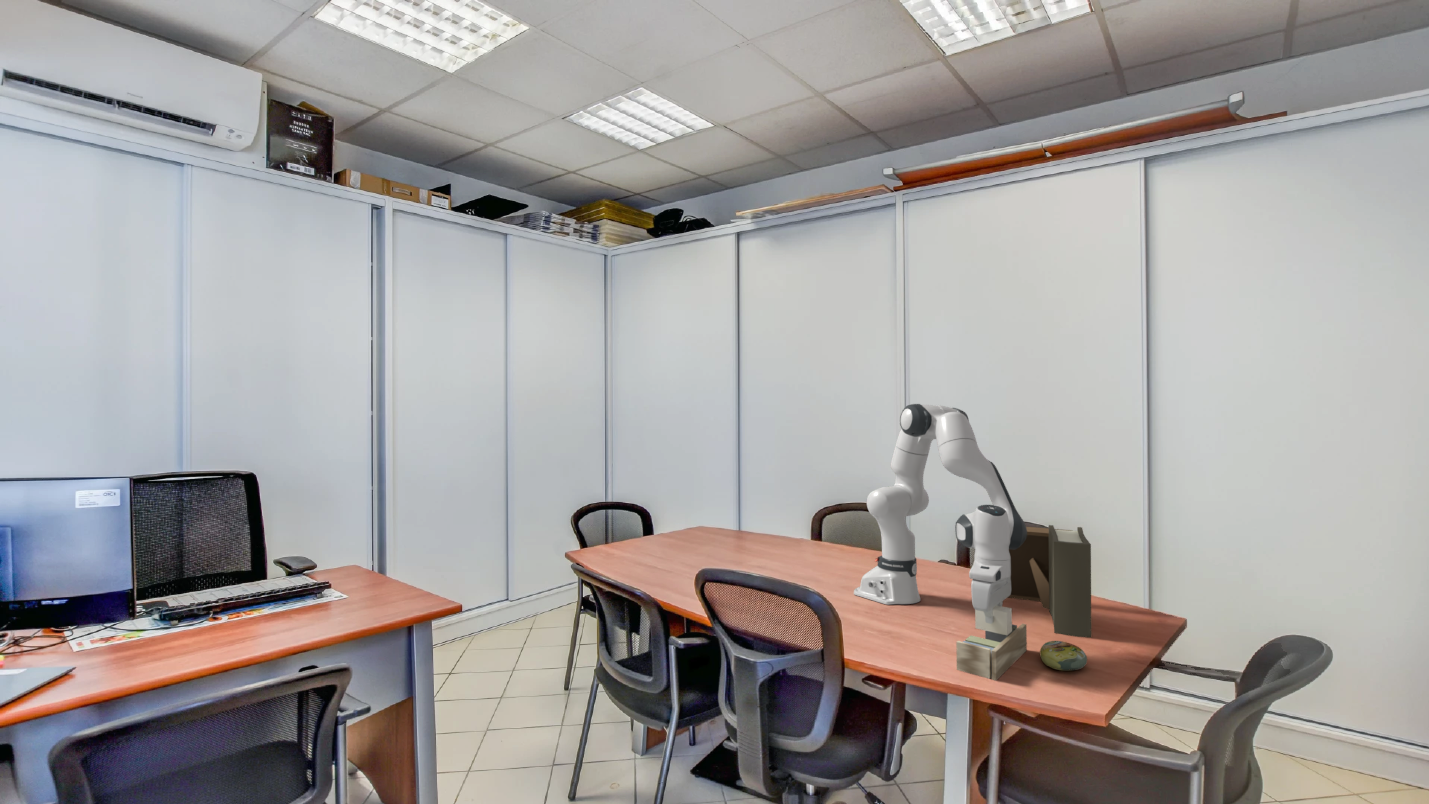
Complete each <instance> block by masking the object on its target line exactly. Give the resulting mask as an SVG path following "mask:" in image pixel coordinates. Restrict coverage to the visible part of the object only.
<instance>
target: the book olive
mask: <svg viewBox="0 0 1429 804" xmlns="http://www.w3.org/2000/svg"><path fill="white" fill-rule="evenodd" d="M964 641H967V642H971V643H975V644H979V645H983V646H987V647H991V648H995V647H996V646H997V645H999V644H1000V643H1001V642H997V641H992V640H988V639H985V638H982V637H978V636H976V635H969V636H968V637H967V638H965V639H964Z"/></svg>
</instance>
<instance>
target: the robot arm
mask: <svg viewBox="0 0 1429 804" xmlns="http://www.w3.org/2000/svg"><path fill="white" fill-rule="evenodd" d="M899 425H900V428H901V429H900V431H899V433H898V436H897V438H896V441H895V446H894V450H893V454H892V457H891V461H890V468H891V470H892V472H893V473H894V474H895V480H894V484H893V485H890V486H882V487H878V488H876V489H874V490H872V491H871V492H870V493H869V494H868V495H867V499H866V507H867V510H868V512H869V514H870V515H871V516H872V517H873V518H874V519H875V520H876V522H877V524H878V527H879V530H880V535H881V555H879V556H877V558H875V561H874V562H875V563H877V565H876V566H875V567H873V568H871V569H870V570H869V571H867V572H865V573H864V574H863V575H862V577H861V580H860V586H858V587H856V588H855V589H854V590H853V595H855V596H858V597H861V598H865V599H868V600H871V601H873V602H877V603H879V604H884V605H910V604H911V605H912V604H917V603H919V602H920V601H921V599H922V598H921V597H920V592H919V587H918V583H917V575H918V574H917V573H918V572H917V571H918V565H917V562H918V561H917V558H916V537H915V534H914V533H913V531H911V530H909V528H908V524H907V520H906V517H910V516H911V517H912V516H915V515H917V514H919V513H920V514H921V513H922V512H923V511H925V510H926V509H927V507H928V506H929V502H930V499H929V494H928V492H927V490H926V489H925V486H924V473H925V469H926V465H927V461H928V457H929V453H930V449H931V446H932V445H931V444H932V442H933V441H934V440H936V444H937V449H938V453H939V455H938V456H939V457H940V459H939V460H940V461H941V463H942V466H943V467H944V469H945V470H946V471H948V472H949V473H950V474H952V475H955V476H956V477H959V478H963V479H966V480H969V481H972V482H974V483H976V484H978V485H980V486H981V487H983V489H985V490H986V492H987V495H988V497H989V498H990V502H991V503H992V504H981V505H979V506H977V507H976V508H975V510H974V511H973V512H969V513H966V514H962V515H960V516H959V517H958V519H957V520H956V521H955V525H954V526H955V531H954V532H955V538H956V540H957V541H958V542H959V543H960V545H962V546H963V547H965V548H969V549H974V561H973V564H972V566H971V568H970V570H969V572H968V576H969V579H972V580H971V584H970V585H971V586H970V588H971V602H972V603H971V604H972V607H973V609H974V611H975V610H978V611H983V612H984V614H985V621H986V623H990V624H992V623H993V622H994V616H993V608H994V607H995V606H996V605H997V606H1002V607H1003V602H1004V600H1006V599H1007V597H1009V596H1010V595H1011V556H1010V553H1009V549H1012V550H1015V549H1017V548H1019V547H1020V546H1021V545H1022V544H1023V543H1024V541H1025V540H1026V538H1027V529H1026V527H1027V526H1026V523H1025V521H1024V519H1023V518H1022V517H1021V515H1020V513H1019V512H1018V511H1017V509H1016V506H1015V504H1014V502H1013V500H1012V498H1011V496H1010V494H1009V491H1008V489H1007V487H1006V484H1005V482H1004V480H1003V478H1002V475H1001V474H1000V472H999V469H998V468H997V467H996V465H995V464H994V462H992V461H990V460H988V459H987V458H986V456H985V455H984V454H983V453H982V451H981V450H980V448H979V445H978V442H977V438H976V435H975V433H974V430H973V427H972V425H971V423H970V420H969V417H968V414H967V413H966V412H965V411H964V410H963V409H959V408H957V407H951V406H950V407H949V406H945V405H941V404H940V405H939V404H921V403H912V404H908V405H906V406H905V407H904V408H903V409H902V411H901V413H900V417H899Z"/></svg>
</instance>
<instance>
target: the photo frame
mask: <svg viewBox="0 0 1429 804" xmlns="http://www.w3.org/2000/svg"><path fill="white" fill-rule="evenodd" d="M1026 529H1027V538H1026V540H1025V541H1024V543H1023V544H1022V545H1021V546H1020V547H1019V548H1017V549H1015V550H1012V549H1009V553H1010V556H1011V595H1010V596H1009V597H1007V598H1008V599H1009V598H1010V599H1017V600H1023V601H1024V600H1025V601H1032V602H1033V601H1034V602H1040V603H1041V605H1042V608H1043V609H1047V610H1049V527H1034V526H1026ZM1055 529H1056V530H1064V529H1059V528H1055ZM1067 530H1068V531H1074V530H1072V529H1067ZM1007 598H1006V599H1007Z"/></svg>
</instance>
